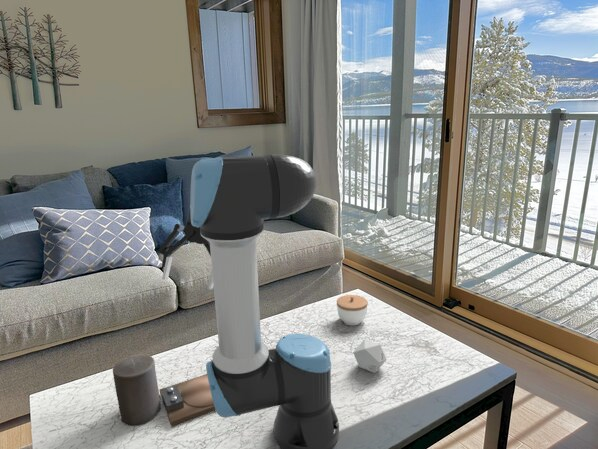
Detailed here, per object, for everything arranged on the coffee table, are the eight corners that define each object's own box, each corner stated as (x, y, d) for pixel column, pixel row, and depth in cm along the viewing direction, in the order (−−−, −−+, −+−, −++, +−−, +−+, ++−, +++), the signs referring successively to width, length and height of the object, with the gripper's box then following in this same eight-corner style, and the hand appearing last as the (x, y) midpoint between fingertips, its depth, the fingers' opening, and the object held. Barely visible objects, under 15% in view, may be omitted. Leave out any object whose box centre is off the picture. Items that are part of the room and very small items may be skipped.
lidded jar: (351, 311, 153) (351, 287, 150) (373, 321, 145) (374, 297, 142) (330, 320, 146) (330, 296, 144) (352, 332, 138) (352, 306, 136)
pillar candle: (118, 430, 98) (108, 375, 94) (123, 403, 107) (114, 353, 103) (160, 420, 101) (153, 367, 97) (161, 395, 110) (154, 346, 106)
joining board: (256, 395, 109) (255, 389, 108) (171, 427, 99) (170, 420, 98) (237, 368, 121) (236, 363, 120) (160, 394, 110) (159, 388, 110)
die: (362, 382, 114) (384, 358, 111) (342, 357, 118) (363, 334, 115) (375, 377, 120) (396, 355, 117) (356, 353, 125) (376, 331, 122)
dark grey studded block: (250, 383, 111) (250, 374, 111) (167, 413, 101) (166, 403, 100) (241, 370, 117) (240, 361, 117) (162, 397, 107) (160, 387, 106)
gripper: (246, 220, 123) (232, 291, 122) (166, 205, 124) (151, 274, 123) (241, 219, 115) (226, 293, 114) (156, 202, 117) (140, 276, 116)
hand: (187, 283), depth 119 cm, fingers open, 13 cm apart
